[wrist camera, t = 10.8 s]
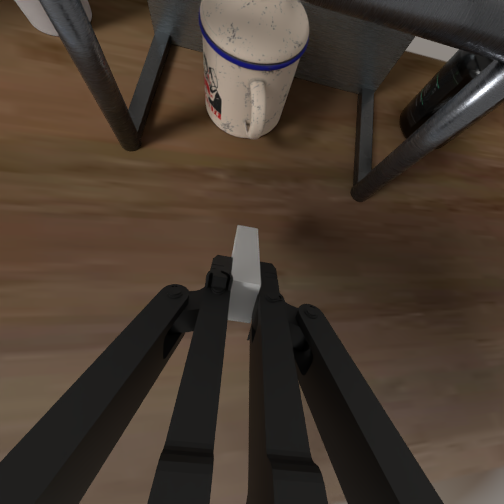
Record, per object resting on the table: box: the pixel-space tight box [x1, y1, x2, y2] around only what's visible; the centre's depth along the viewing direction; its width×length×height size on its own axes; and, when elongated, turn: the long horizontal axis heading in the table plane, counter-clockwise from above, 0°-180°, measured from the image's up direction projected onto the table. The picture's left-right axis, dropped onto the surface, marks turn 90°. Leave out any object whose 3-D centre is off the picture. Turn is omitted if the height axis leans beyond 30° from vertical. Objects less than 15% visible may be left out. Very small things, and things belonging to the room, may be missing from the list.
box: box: [39, 0, 504, 202], centre depth 20 cm, size 27×16×17 cm, turn 81°
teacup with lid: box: [199, 0, 309, 139], centre depth 22 cm, size 12×9×12 cm
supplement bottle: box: [400, 49, 504, 149], centre depth 25 cm, size 7×7×12 cm
